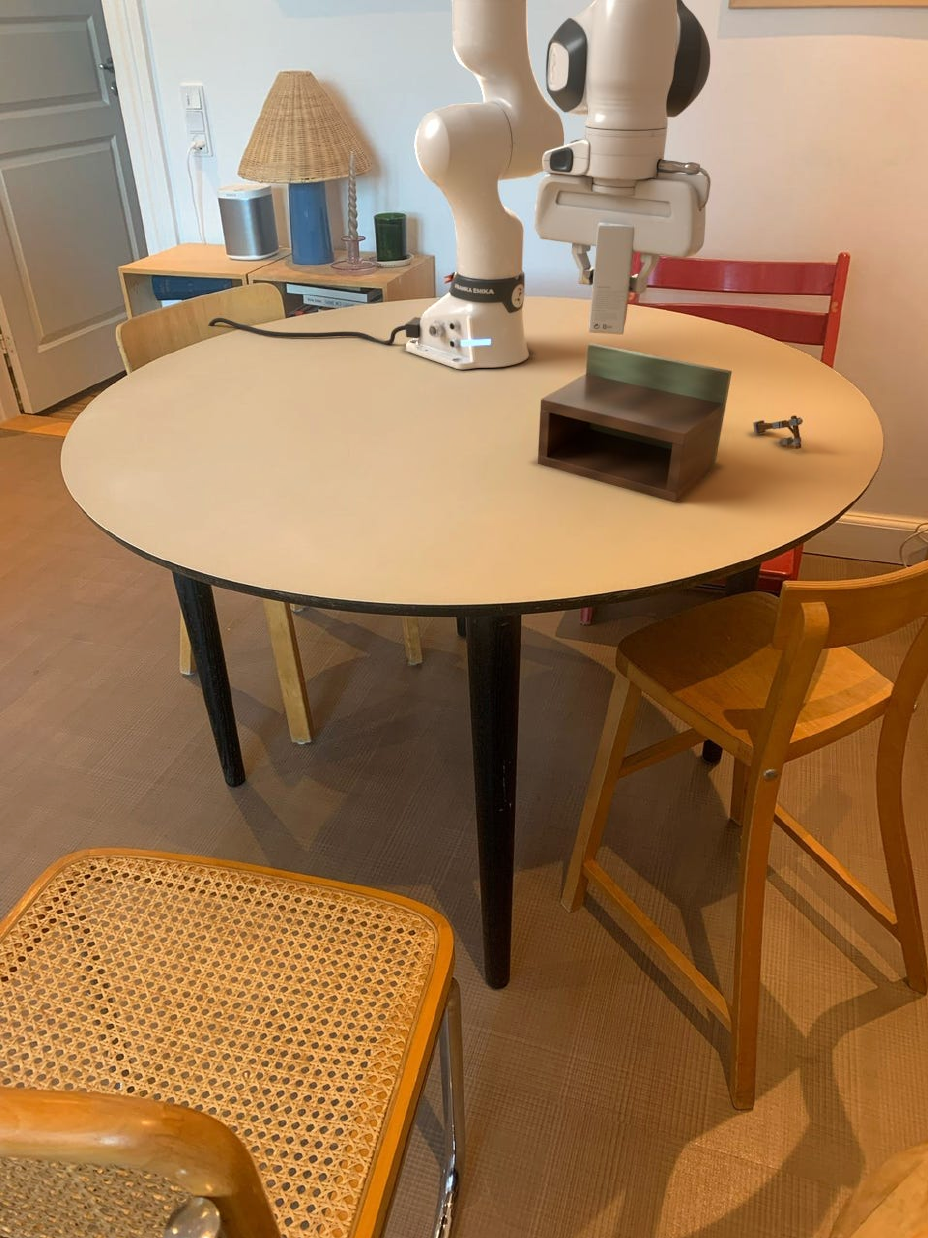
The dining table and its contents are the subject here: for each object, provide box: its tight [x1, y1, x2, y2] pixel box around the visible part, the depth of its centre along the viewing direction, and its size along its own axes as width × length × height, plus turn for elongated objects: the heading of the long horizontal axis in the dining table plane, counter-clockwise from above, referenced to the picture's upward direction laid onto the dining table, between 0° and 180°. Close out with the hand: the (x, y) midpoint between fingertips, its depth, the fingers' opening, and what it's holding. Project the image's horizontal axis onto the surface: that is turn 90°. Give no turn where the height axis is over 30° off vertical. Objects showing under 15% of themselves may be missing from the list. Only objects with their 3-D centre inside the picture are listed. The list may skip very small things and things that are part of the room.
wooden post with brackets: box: [752, 415, 804, 450], centre depth 122 cm, size 2×8×4 cm, turn 29°
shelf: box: [537, 342, 733, 503], centre depth 113 cm, size 20×13×13 cm, turn 55°
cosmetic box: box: [588, 223, 635, 335], centre depth 102 cm, size 6×4×12 cm
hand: (611, 287), depth 103 cm, fingers closed on cosmetic box, 5 cm apart
